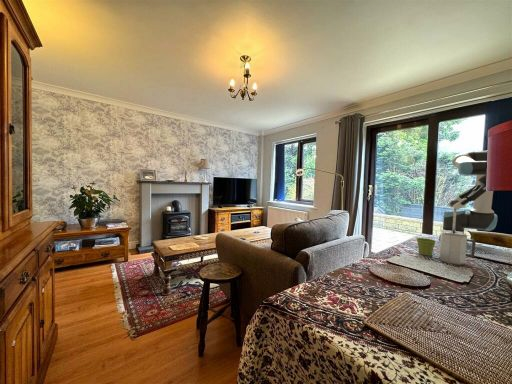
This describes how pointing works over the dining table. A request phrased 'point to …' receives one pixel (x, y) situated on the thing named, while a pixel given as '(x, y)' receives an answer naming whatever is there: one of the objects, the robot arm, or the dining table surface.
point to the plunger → (454, 213)
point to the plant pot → (425, 246)
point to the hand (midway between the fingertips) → (451, 207)
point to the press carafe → (455, 247)
